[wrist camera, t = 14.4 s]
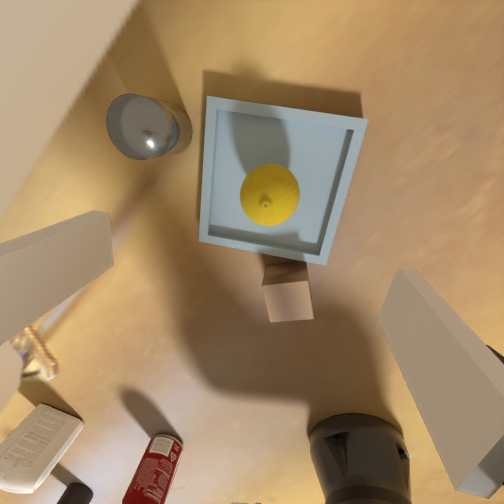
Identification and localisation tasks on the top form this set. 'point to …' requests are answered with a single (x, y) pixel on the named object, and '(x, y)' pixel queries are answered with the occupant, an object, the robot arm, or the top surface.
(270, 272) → the walnut block
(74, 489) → the bottle
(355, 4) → the top surface
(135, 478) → the soda can
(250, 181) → the lemon
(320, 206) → the dish
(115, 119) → the grey tin
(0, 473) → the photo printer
